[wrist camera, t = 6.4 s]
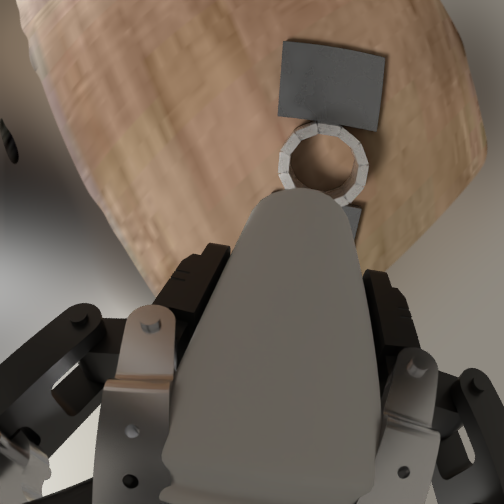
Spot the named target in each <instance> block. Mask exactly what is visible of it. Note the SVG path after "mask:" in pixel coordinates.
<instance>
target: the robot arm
mask: <svg viewBox="0 0 504 504" xmlns="http://www.w3.org/2000/svg"><path fill="white" fill-rule="evenodd" d="M229 258H230V246H227V245H221V244H215V243H208V245H207V246H206V248H205V249H204V251H203V253H202V254H201V255H197V254H192V255H190V256H189V257H187V258H185V259H184V260H182V261H181V263H180V264H179V266H178V267H177V269H176V271H174V273H173V274H172V276H171V279H169V280H168V281H167V283H166V284H165V286H164V287H163V289H162V290H161V292H160V293H159V295H158V296H157V298H156V299H155V301H154V302H153V304H152V305H145V306H142V307H139V308H137V309H136V310H134V311H133V312H132V313H131V314H130V315H129V317H128V318H126V319H117V318H116V319H115V318H102V315H101V312H100V310H99V309H98V308H97V307H96V306H95V305H92V304H88V303H81V304H76V305H74V306H71V307H69V308H68V309H67V310H65V311H64V312H63V313H62V314H60V315H59V316H58V317H57V318H55V319H54V320H53V321H51V322H50V323H49V324H48V325H46V326H45V327H44V328H43V329H42V330H40V331H39V332H38V333H37V334H35V335H34V336H33V337H32V338H30V339H29V340H28V341H27V342H26V343H24V344H23V345H22V346H21V347H20V348H19V349H17V350H16V351H15V352H14V353H13V354H11V355H10V356H9V357H8V358H7V359H6V360H5V361H3V362H2V363H1V364H0V504H171V503H168V502H164V501H161V500H160V499H159V495H160V493H161V491H162V490H163V489H164V488H166V487H169V486H171V474H170V471H169V470H168V468H167V467H166V466H165V464H164V463H163V462H162V456H161V455H162V451H163V448H164V445H165V442H166V440H167V437H168V435H169V424H170V408H171V398H172V391H173V384H174V378H175V373H176V371H177V369H178V367H179V364H180V362H181V360H182V358H183V356H184V353H185V351H186V349H187V347H188V345H189V343H190V340H191V338H192V336H193V334H194V332H195V330H196V327H197V325H198V323H199V321H200V319H201V317H202V315H203V312H204V310H205V308H206V306H207V304H208V302H209V300H210V298H211V295H212V293H213V291H214V289H215V287H216V285H217V283H218V281H219V279H220V276H221V274H222V272H223V270H224V268H225V266H226V264H227V262H228V260H229ZM363 283H364V288H365V293H366V298H367V304H368V309H369V315H370V321H371V327H372V333H373V340H374V346H375V354H376V361H377V369H378V378H379V387H380V398H381V416H382V424H381V430H380V436H379V441H378V447H377V452H376V457H375V478H374V486H373V488H372V489H371V491H370V492H369V493H367V494H366V495H364V496H362V497H360V498H359V499H358V500H357V502H356V503H355V504H425V501H426V498H427V494H428V491H429V487H430V484H431V481H432V485H433V488H434V492H435V495H436V499H437V502H438V504H504V406H503V404H502V402H501V400H500V398H499V396H498V394H497V392H496V390H495V388H494V387H493V385H492V383H491V381H490V380H489V378H488V377H487V375H486V374H484V373H483V372H482V371H480V370H478V369H476V368H469V369H466V370H465V371H463V373H462V374H461V375H460V376H459V377H456V376H453V375H450V374H447V373H444V372H441V371H439V370H438V366H437V363H436V361H435V359H434V358H433V357H432V356H431V355H430V354H429V353H428V352H426V351H424V350H422V349H421V347H420V344H419V340H418V336H417V333H416V330H415V326H414V323H413V320H412V319H411V317H412V316H411V313H410V311H409V307H408V304H407V301H406V298H405V297H404V296H403V294H402V293H401V292H400V291H399V290H398V288H393V287H392V286H391V284H390V280H389V277H388V274H387V273H386V272H381V271H375V270H369V269H367V270H366V271H365V273H364V275H363ZM77 362H78V364H79V365H78V366H77V367H76V368H75V369H74V370H73V371H72V372H71V373H70V374H69V375H68V376H67V377H66V378H65V379H63V380H62V381H61V382H60V383H59V384H58V385H57V386H56V387H55V388H54V389H53V390H52V387H53V385H54V383H55V382H56V381H58V379H60V378H61V377H62V376H63V375H64V374H65V373H66V372H67V371H68V370H69V369H70V368H71V367H73V366H74V365H75V364H76V363H77ZM100 404H101V408H100V415H99V422H98V430H97V440H96V448H95V449H96V450H95V460H94V473H93V477H92V478H90V479H88V480H86V481H83V482H81V483H78V484H76V485H73V486H71V487H68V488H66V489H63V490H61V491H58V492H55V493H53V494H50V495H47V496H44V497H42V485H43V482H44V480H47V479H49V478H50V476H51V469H50V468H49V460H48V459H49V458H50V456H51V455H52V454H53V453H54V452H55V451H56V450H57V449H58V448H59V447H60V446H61V445H62V444H63V443H64V442H65V441H66V440H67V438H69V436H70V435H71V434H72V433H73V432H74V431H75V430H76V429H77V428H78V427H79V426H80V425H81V424H82V423H83V422H84V421H85V420H86V419H87V418H88V416H89V415H90V414H91V413H92V412H93V411H94V410H95V409H96V408H97V407H98V406H99V405H100ZM462 426H464V427H465V429H466V432H467V435H468V437H469V439H470V442H471V444H472V447H473V449H474V452H475V462H474V464H472V463H471V462H470V461H469V459H468V456H467V453H466V451H465V448H464V445H463V443H462V440H461V438H460V435H459V433H458V430H459V429H460V428H461V427H462Z"/></svg>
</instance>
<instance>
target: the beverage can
mask: <svg viewBox="0 0 504 504" xmlns="http://www.w3.org/2000/svg"><path fill="white" fill-rule="evenodd" d="M381 424H382V416H381V398H380V387H379V378H378V369H377V361H376V354H375V346H374V340H373V333H372V327H371V321H370V315H369V309H368V304H367V298H366V293H365V288H364V283H363V278H362V274H361V269H360V264H359V260H358V256H357V251H356V247H355V243H354V239H353V235H352V231H351V227H350V224H349V220H348V217H347V215H346V214H345V212H344V211H343V209H342V207H341V206H340V205H339V204H338V203H337V202H336V201H335V200H333V199H332V198H331V197H330V196H328V195H326V194H324V193H322V192H320V191H318V190H313V189H306V188H294V189H286V190H282V191H279V192H275V193H272V194H270V195H269V196H267V197H265V198H264V199H262V200H261V201H260V202H259V203H258V204H257V205H256V207H255V208H254V209H253V210H252V212H251V214H250V216H249V218H248V220H247V223H246V225H245V227H244V229H243V231H242V233H241V235H240V237H239V239H238V241H237V243H236V245H235V247H234V249H233V251H232V253H231V256H230V258H229V260H228V262H227V264H226V266H225V268H224V270H223V272H222V274H221V276H220V279H219V281H218V283H217V285H216V287H215V289H214V291H213V293H212V295H211V298H210V300H209V302H208V304H207V306H206V308H205V310H204V312H203V315H202V317H201V319H200V321H199V323H198V325H197V327H196V330H195V332H194V334H193V336H192V338H191V340H190V343H189V345H188V347H187V349H186V351H185V353H184V356H183V358H182V360H181V362H180V364H179V367H178V369H177V371H176V373H175V378H174V384H173V391H172V398H171V408H170V424H169V435H168V437H167V440H166V442H165V445H164V448H163V451H162V455H161V456H162V462H163V463H164V464H165V466H166V467H167V468H168V470H169V471H170V474H171V486H169V487H166V488H164V489H163V490H162V491H161V493H160V495H159V499H160V500H161V501H164V502H168V503H171V504H355V503H356V502H357V500H358V499H359V498H360V497H362V496H364V495H366V494H367V493H369V492H370V491H371V489H372V488H373V486H374V478H375V457H376V452H377V447H378V441H379V436H380V430H381Z"/></svg>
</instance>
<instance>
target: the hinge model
mask: <svg viewBox="0 0 504 504" xmlns="http://www.w3.org/2000/svg"><path fill="white" fill-rule="evenodd" d="M384 65H385V58H384V57H380V56H376V55H372V54H367V53H363V52H358V51H353V50H348V49H342V48H336V47H330V46H323V45H316V44H308V43H298V42H287V41H283V51H282V65H281V79H280V92H279V105H278V116H282V117H291V118H299V119H307V120H314V121H313V122H310V123H307V124H305V125H302V126H300V127H297V128H296V129H295V130H294V131H293V132H292V134H291V135H290V136H289V138H288V139H287V140H286V142H285V143H284V144H283V146H282V148H281V151H280V156H279V167H278V173H279V174H278V175H279V177H280V179H281V181H282V183H283V186H284V188H285V190H286V189H294V188H306V189H309V188H308V187H307V186H305V185H304V184H303V183H301V182H300V181H299V180H297V178H296V176H295V174H294V171H293V169H292V167H291V165H290V164H291V155H292V152H293V151H294V149H295V148H296V147H297V145H298V144H299V143H300V141H301V140H304V139H306V138H309V137H311V136H314V135H317V134H324V135H330V136H336V137H339V138H340V139H341V140H342V141H344V142H345V143H346V144H347V145H349V146H350V149H351V151H352V154H353V156H354V164H353V169H352V174H351V176H350V177H349V178H348V179H347V180H346V181H345V183H344V184H343V185H342V186H341V187H338V188H335V189H332V190H329V191H327V192H325V191H320V192H322V193H324V194H326V195H328V196H330V197H331V198H332V199H333V200H335V201H336V202H337V203H338V204H339V205H340V206H341V207H342V209H343V211H344V212H345V214H346V215H347V217H348V220H349V224H350V227H351V231H352V235H353V239H355V235H356V231H357V227H358V223H359V218H360V214H361V210H362V208H361V206H357V205H351V204H349V203H348V202H350V203H351V202H352V201H353V200H354V199H355V198H356V197H357V195H358V194H359V193H360V192H361V191H362V190H363V189H364V187H363V186H365V184H366V179H367V174H368V168H369V165H368V164H369V163H368V160H367V158H366V155H365V152H364V149H363V147H362V144H361V143H360V141H359V140H358V139H357V138H356V137H355V136H353V135H352V134H351V133H350V132H349V131H347V130H346V129H345V128H344V127H342V126H341V125H345V126H351V127H356V128H361V129H366V130H370V131H375V132H377V125H378V118H379V111H380V103H381V95H382V86H383V76H384ZM316 121H317V123H316ZM318 191H319V190H318ZM271 194H272V193H271Z"/></svg>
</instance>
